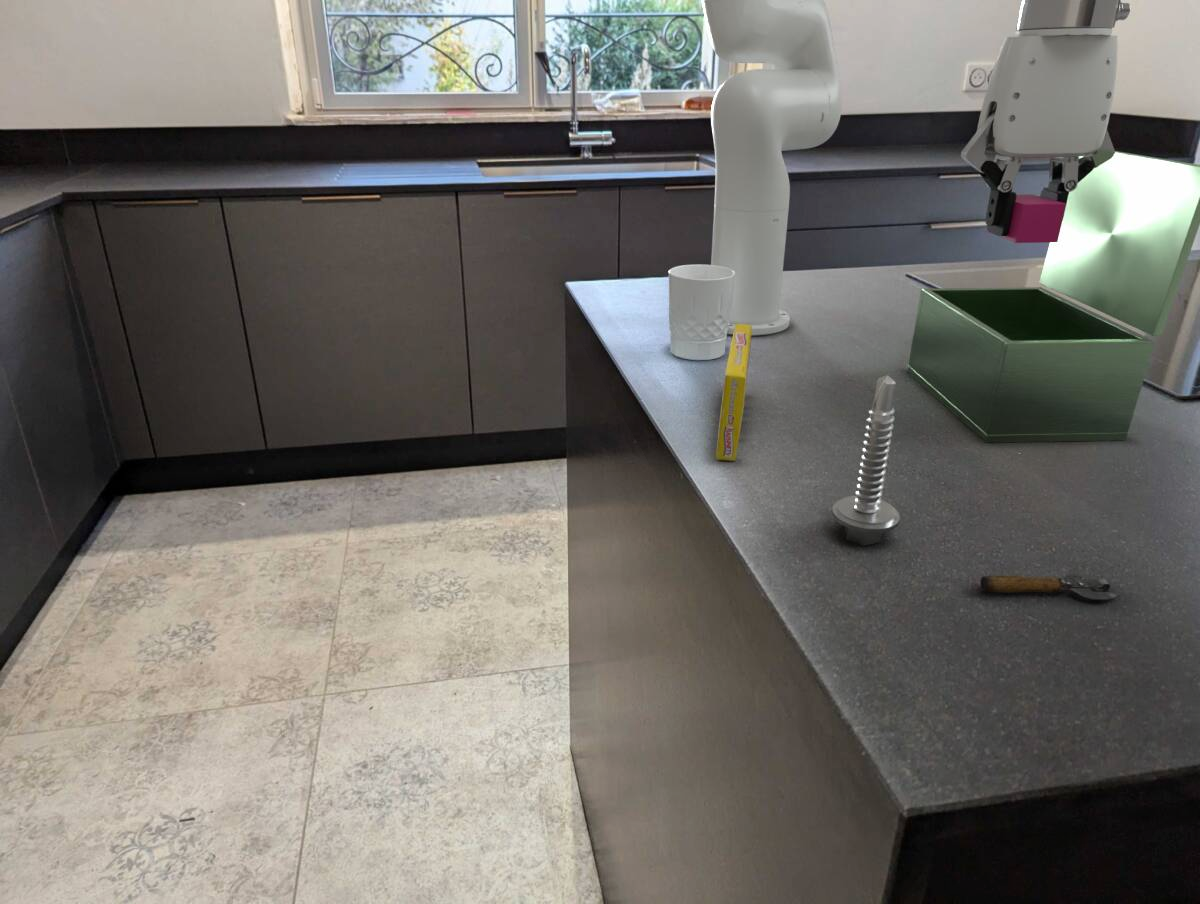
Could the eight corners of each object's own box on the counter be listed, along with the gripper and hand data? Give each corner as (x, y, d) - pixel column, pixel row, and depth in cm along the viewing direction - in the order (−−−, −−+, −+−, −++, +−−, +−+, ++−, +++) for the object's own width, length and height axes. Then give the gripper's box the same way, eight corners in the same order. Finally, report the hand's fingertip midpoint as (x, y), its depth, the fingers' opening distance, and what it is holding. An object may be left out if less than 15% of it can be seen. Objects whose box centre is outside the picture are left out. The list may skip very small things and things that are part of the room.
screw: (880, 561, 59) (818, 538, 62) (905, 534, 63) (845, 514, 65) (909, 392, 54) (839, 376, 56) (935, 373, 57) (868, 358, 60)
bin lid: (1210, 167, 68) (1275, 170, 68) (1075, 145, 85) (1127, 147, 85) (1152, 336, 74) (1212, 337, 74) (1038, 282, 91) (1087, 284, 92)
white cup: (657, 358, 100) (660, 276, 95) (675, 339, 106) (678, 262, 102) (722, 365, 97) (727, 282, 93) (735, 346, 104) (741, 267, 100)
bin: (985, 442, 78) (1007, 343, 73) (907, 371, 95) (921, 288, 91) (1125, 440, 78) (1155, 341, 74) (1021, 370, 96) (1041, 287, 92)
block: (1015, 243, 76) (1023, 204, 75) (985, 231, 82) (992, 194, 80) (1057, 242, 76) (1066, 203, 75) (1025, 230, 82) (1032, 194, 80)
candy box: (739, 463, 74) (746, 376, 70) (715, 461, 74) (720, 374, 71) (746, 397, 88) (752, 323, 84) (726, 396, 88) (731, 321, 85)
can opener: (983, 595, 55) (986, 581, 55) (973, 575, 57) (976, 561, 57) (1125, 605, 54) (1130, 591, 54) (1110, 585, 56) (1115, 571, 56)
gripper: (1132, 20, 75) (1083, 225, 83) (951, 21, 74) (919, 227, 82) (1189, 15, 68) (1130, 239, 76) (990, 16, 68) (951, 242, 75)
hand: (1021, 231), depth 79 cm, fingers closed on block, 4 cm apart
